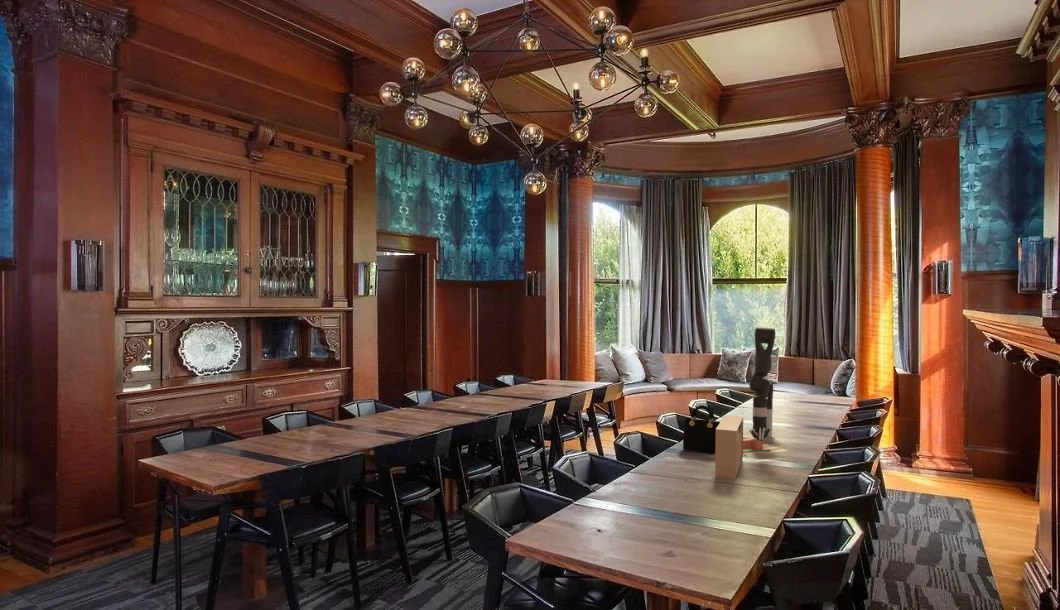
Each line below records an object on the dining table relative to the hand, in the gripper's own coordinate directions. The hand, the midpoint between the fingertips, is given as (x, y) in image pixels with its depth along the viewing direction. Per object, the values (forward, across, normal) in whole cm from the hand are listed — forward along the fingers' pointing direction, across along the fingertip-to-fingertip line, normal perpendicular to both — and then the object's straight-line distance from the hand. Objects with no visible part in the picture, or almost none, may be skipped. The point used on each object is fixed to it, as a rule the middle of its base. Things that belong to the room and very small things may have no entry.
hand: (759, 446), depth 354 cm
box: (+2, +40, +27) cm, 49 cm away
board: (+2, +4, -1) cm, 4 cm away
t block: (+1, +8, 0) cm, 8 cm away
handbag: (+2, +33, -7) cm, 34 cm away
